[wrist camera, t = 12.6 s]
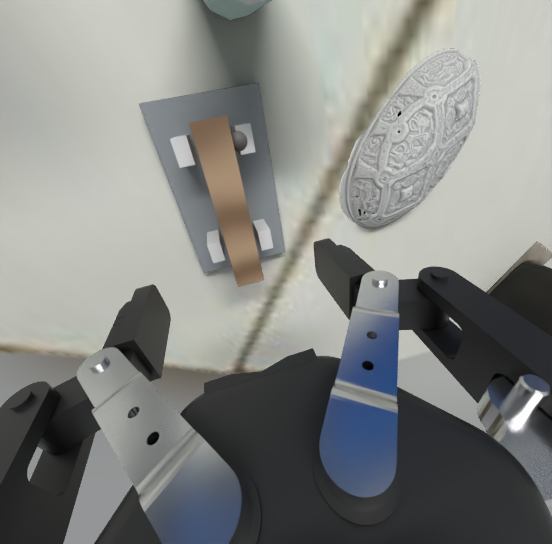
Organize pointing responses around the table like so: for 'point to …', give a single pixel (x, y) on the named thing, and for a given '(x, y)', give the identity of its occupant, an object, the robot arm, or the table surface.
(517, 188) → the table surface
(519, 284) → the shoulder bag
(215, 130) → the cabinet door
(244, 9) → the disposable coffee cup
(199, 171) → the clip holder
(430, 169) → the oval brooch
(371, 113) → the table surface
